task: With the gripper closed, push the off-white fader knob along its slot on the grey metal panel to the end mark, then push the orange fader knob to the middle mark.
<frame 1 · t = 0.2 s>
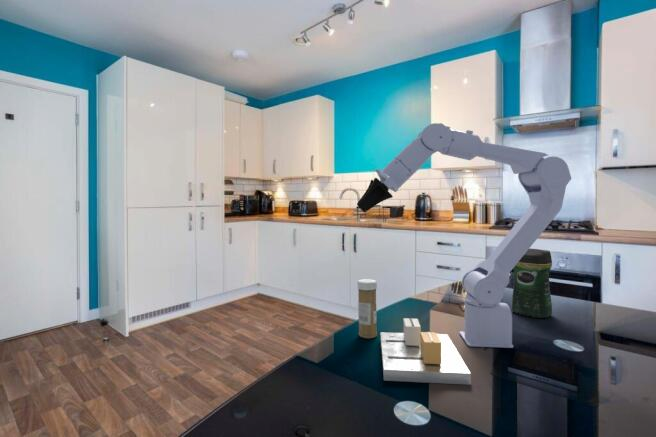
hand: (360, 208, 80), 31 cm above the table, tool tilted 45°, fingers open, 7 cm apart
coffee jar: (531, 314, 97), on the table
fader knob orange: (430, 347, 65), point 4 cm above the table, slide at 0.0 cm
fader panel: (419, 359, 69), on the table
fader knob white: (411, 331, 73), point 4 cm above the table, slide at 0.0 cm
sprinkles bottle: (367, 336, 83), on the table
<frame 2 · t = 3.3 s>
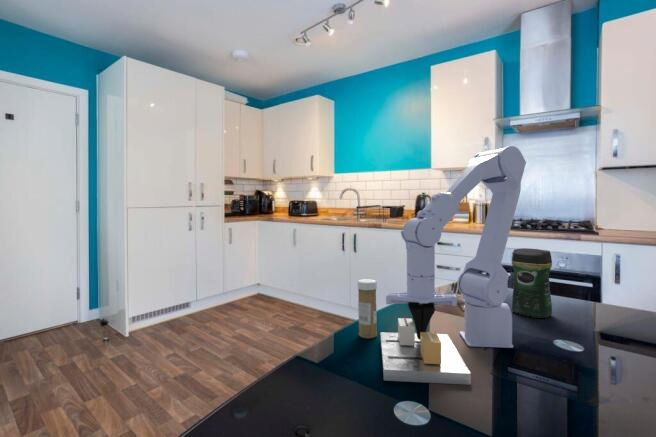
hand: (420, 337, 73), 3 cm above the table, tool pointing down, fingers closed
fader knob white: (406, 331, 73), point 4 cm above the table, slide at 1.2 cm, touching gripper
everything else where it was.
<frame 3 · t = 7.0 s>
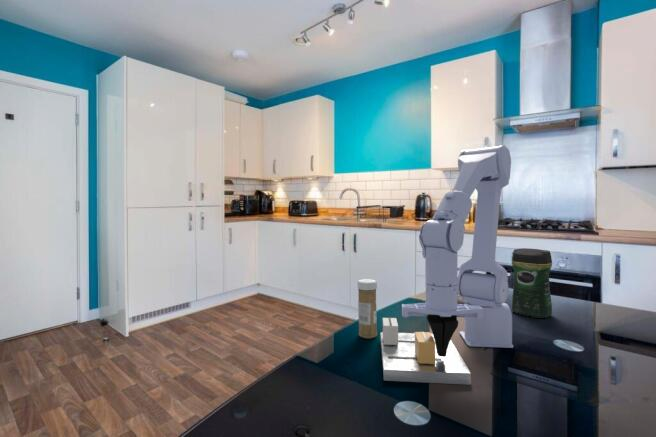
hand: (441, 354, 65), 3 cm above the table, tool pointing down, fingers closed
fader knob orange: (424, 346, 65), point 4 cm above the table, slide at 1.1 cm, touching gripper
fader knob white: (390, 330, 74), point 4 cm above the table, slide at 4.6 cm
everything else where it was.
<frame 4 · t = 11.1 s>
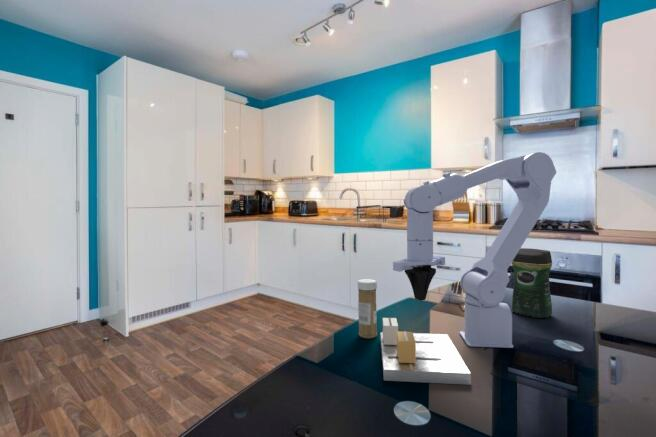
hand: (420, 299, 78), 10 cm above the table, tool pointing down, fingers closed
fader knob orange: (405, 346, 66), point 4 cm above the table, slide at 4.6 cm
everything else where it was.
at the end: fader knob white slide at 4.6 cm; fader knob orange slide at 4.6 cm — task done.
